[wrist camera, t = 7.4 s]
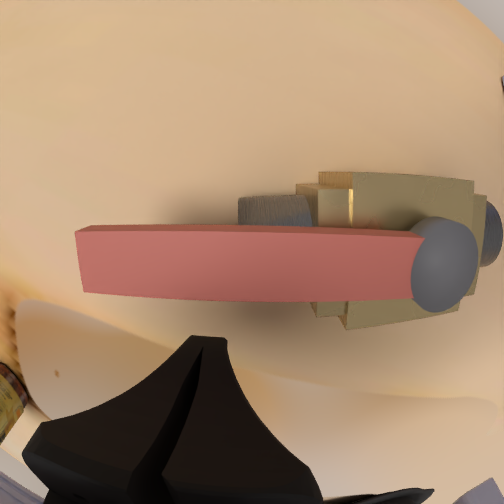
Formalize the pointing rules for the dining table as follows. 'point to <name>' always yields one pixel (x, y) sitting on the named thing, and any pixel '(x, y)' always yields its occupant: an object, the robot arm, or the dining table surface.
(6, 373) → the sauce bottle
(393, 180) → the valve fixture
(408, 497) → the casserole
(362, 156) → the dining table surface
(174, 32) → the dining table surface
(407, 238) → the lever
